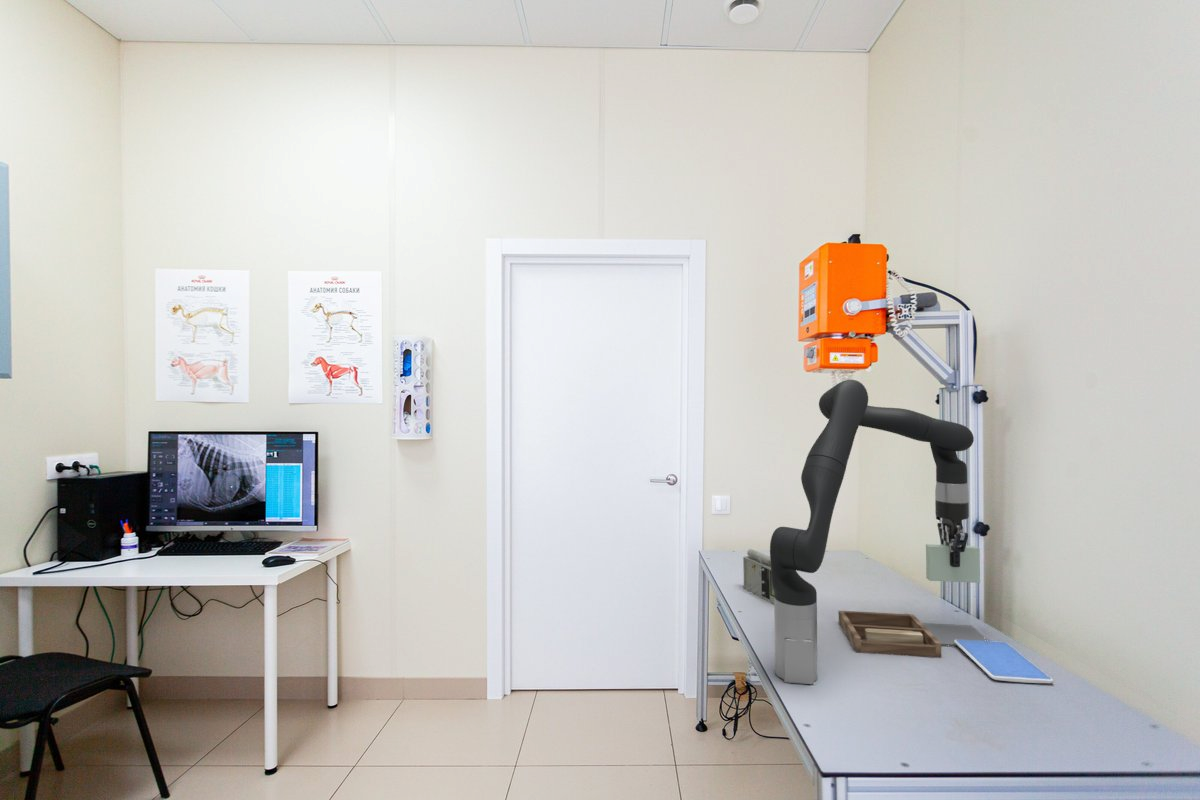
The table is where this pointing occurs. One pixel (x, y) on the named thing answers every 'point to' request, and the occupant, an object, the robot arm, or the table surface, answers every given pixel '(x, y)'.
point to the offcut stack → (893, 636)
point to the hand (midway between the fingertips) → (952, 564)
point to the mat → (953, 633)
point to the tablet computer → (1002, 661)
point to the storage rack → (860, 621)
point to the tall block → (942, 570)
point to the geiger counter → (758, 575)
